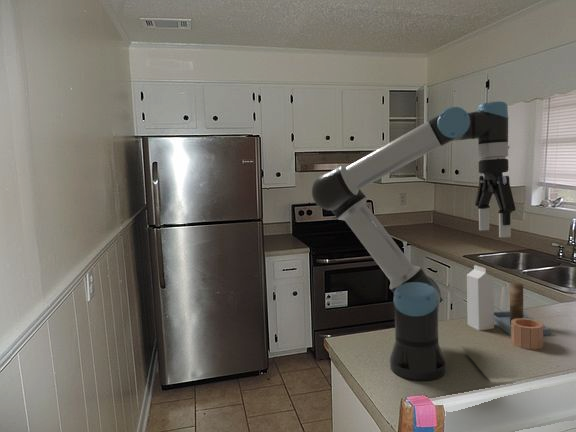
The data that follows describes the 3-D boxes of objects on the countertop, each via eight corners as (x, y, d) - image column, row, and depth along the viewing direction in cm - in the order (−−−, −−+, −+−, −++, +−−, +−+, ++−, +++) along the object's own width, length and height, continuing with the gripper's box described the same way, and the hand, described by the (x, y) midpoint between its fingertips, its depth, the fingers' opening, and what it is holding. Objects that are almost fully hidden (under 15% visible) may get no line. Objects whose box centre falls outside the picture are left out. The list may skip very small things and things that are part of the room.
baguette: (513, 326, 137) (513, 286, 136) (507, 322, 141) (507, 283, 140) (525, 326, 137) (525, 286, 136) (519, 322, 141) (519, 282, 140)
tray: (511, 338, 131) (510, 330, 130) (487, 319, 149) (487, 311, 148) (549, 337, 130) (549, 329, 130) (521, 318, 148) (521, 310, 147)
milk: (482, 325, 144) (481, 264, 142) (494, 331, 138) (494, 267, 136) (467, 327, 142) (466, 265, 140) (478, 333, 136) (478, 269, 134)
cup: (519, 352, 121) (519, 328, 120) (506, 341, 129) (506, 318, 128) (549, 352, 120) (549, 327, 119) (533, 340, 128) (533, 317, 128)
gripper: (530, 155, 101) (530, 239, 103) (488, 159, 126) (489, 227, 128) (499, 157, 102) (500, 241, 104) (463, 161, 127) (464, 228, 129)
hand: (494, 233), depth 116 cm, fingers open, 13 cm apart
